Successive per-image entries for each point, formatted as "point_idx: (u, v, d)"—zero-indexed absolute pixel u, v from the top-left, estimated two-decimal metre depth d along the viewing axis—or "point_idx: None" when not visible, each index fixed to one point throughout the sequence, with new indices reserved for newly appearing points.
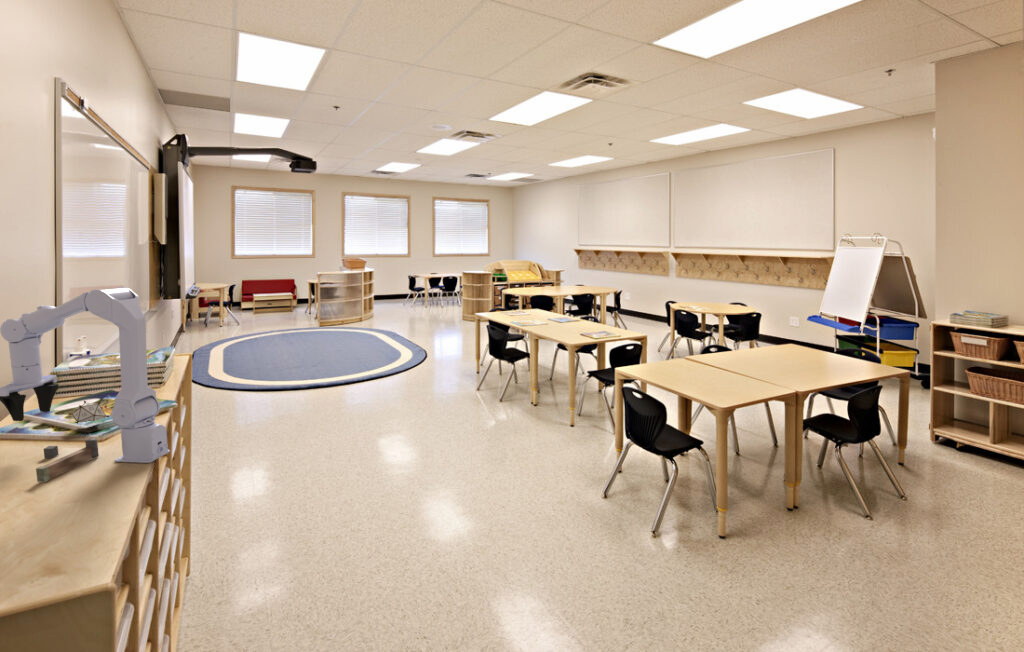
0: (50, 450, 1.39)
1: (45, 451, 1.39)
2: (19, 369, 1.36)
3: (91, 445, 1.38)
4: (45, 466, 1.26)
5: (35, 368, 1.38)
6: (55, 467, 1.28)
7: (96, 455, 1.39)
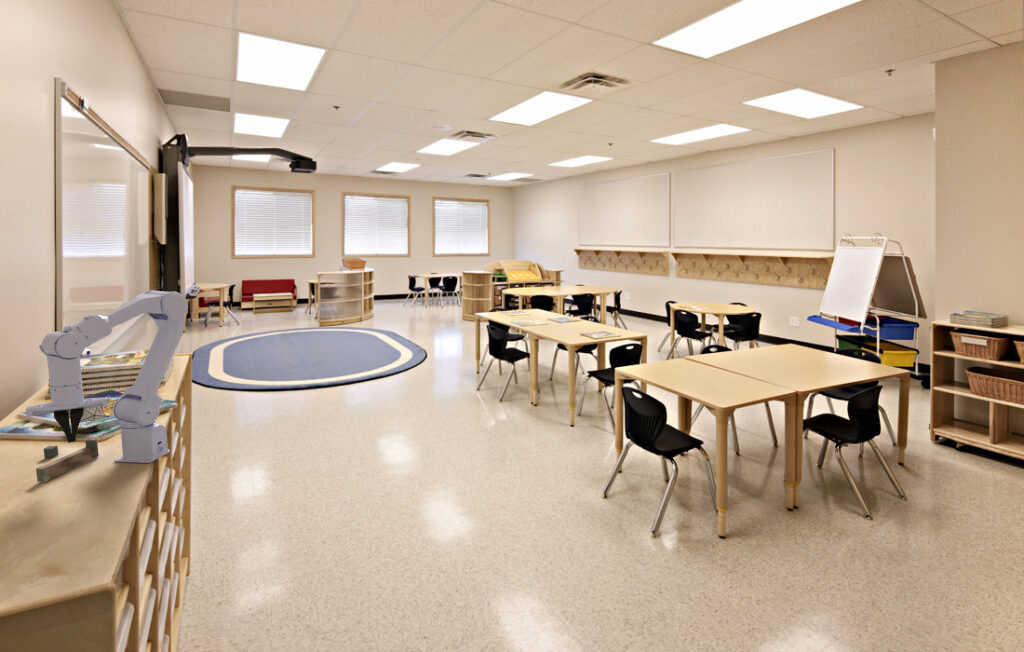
0: (50, 450, 1.39)
1: (45, 451, 1.39)
2: (50, 388, 1.22)
3: (91, 445, 1.38)
4: (45, 466, 1.26)
5: (63, 390, 1.22)
6: (55, 467, 1.28)
7: (96, 455, 1.39)
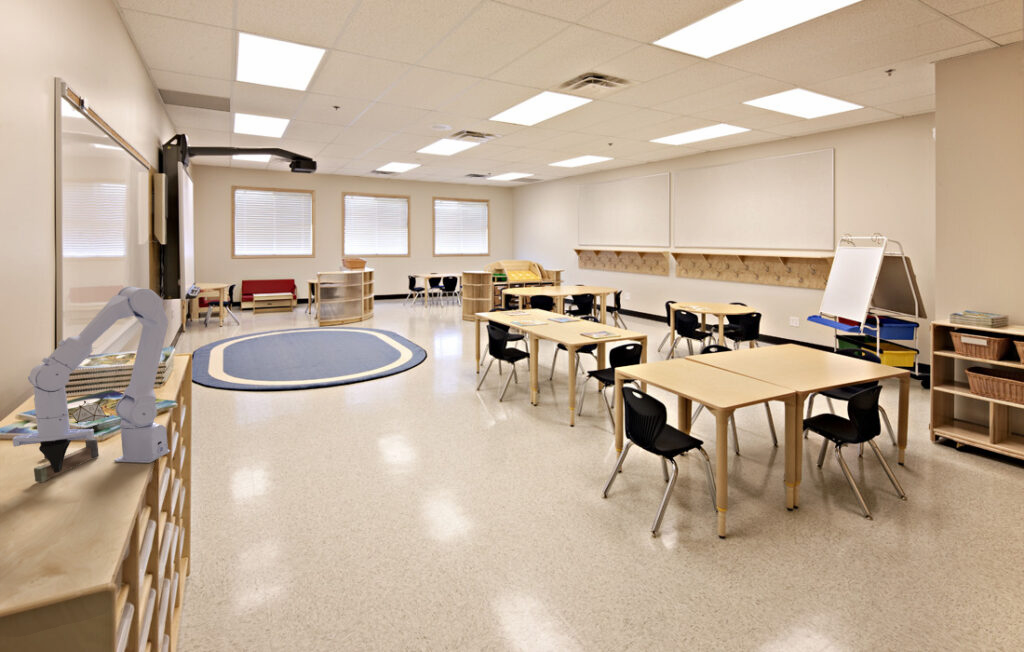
0: None
1: None
2: (36, 419, 1.24)
3: (91, 445, 1.38)
4: (43, 466, 1.26)
5: (45, 422, 1.23)
6: None
7: (96, 455, 1.39)
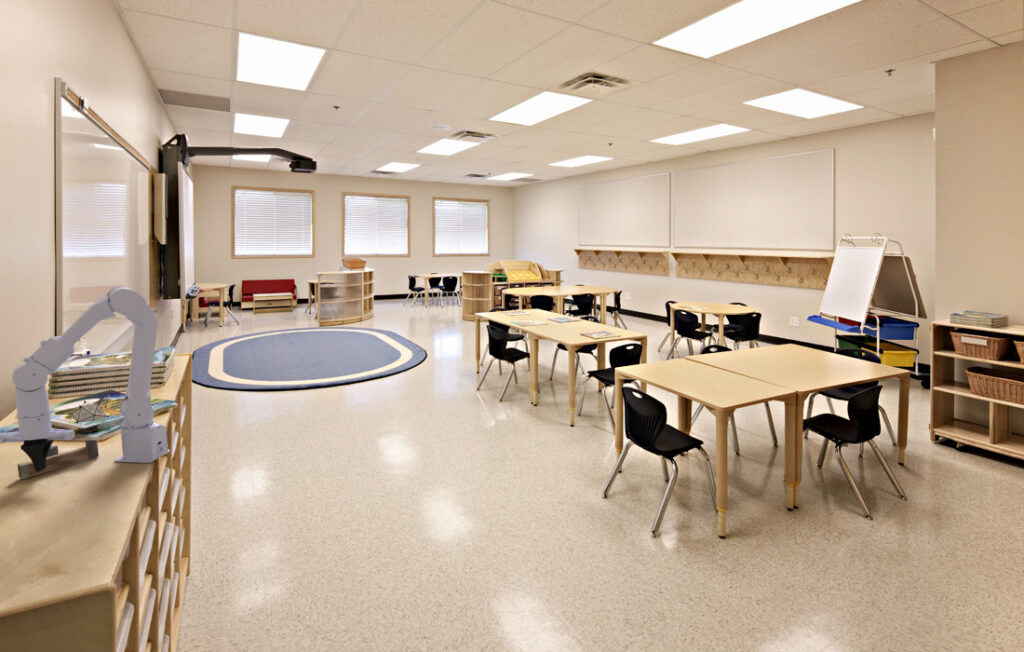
0: (50, 450, 1.39)
1: None
2: None
3: (88, 445, 1.38)
4: (27, 463, 1.27)
5: (24, 421, 1.23)
6: None
7: (94, 456, 1.39)
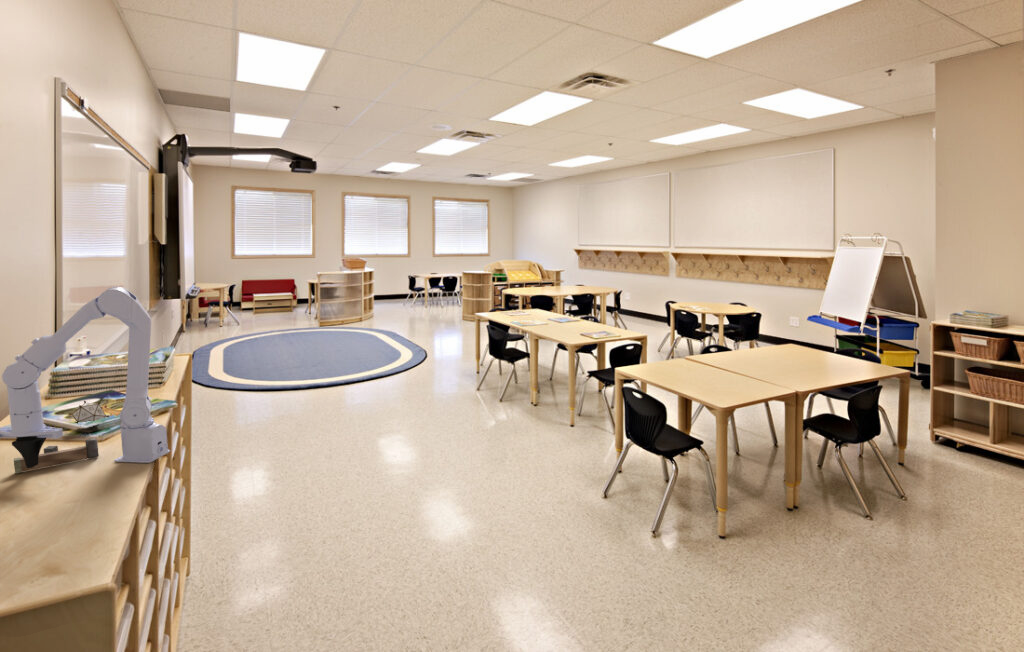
0: (50, 450, 1.39)
1: (45, 451, 1.39)
2: None
3: (87, 445, 1.38)
4: (21, 458, 1.30)
5: (13, 418, 1.25)
6: None
7: (92, 456, 1.38)
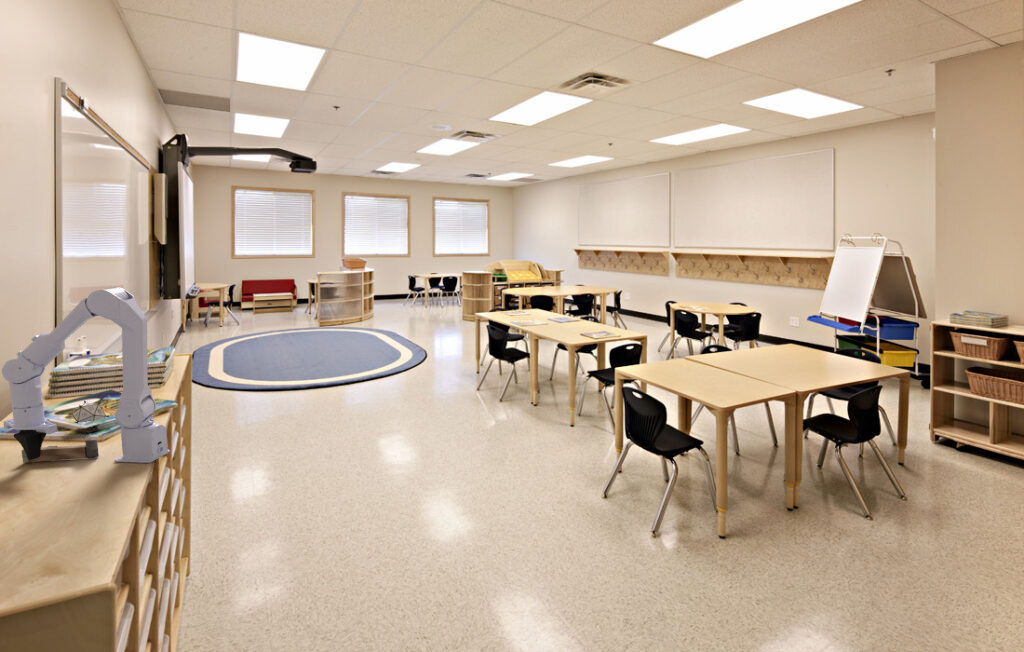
0: None
1: None
2: None
3: (85, 445, 1.38)
4: None
5: (13, 411, 1.30)
6: None
7: (89, 456, 1.38)
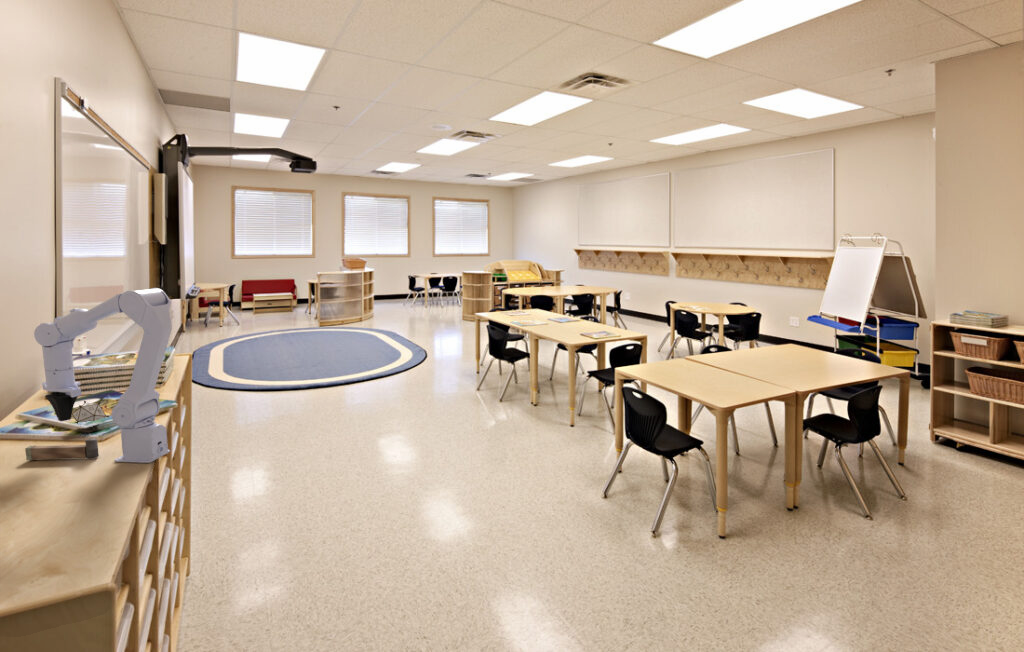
0: None
1: None
2: None
3: None
4: (34, 447, 1.37)
5: (45, 373, 1.36)
6: (39, 451, 1.37)
7: (88, 456, 1.38)
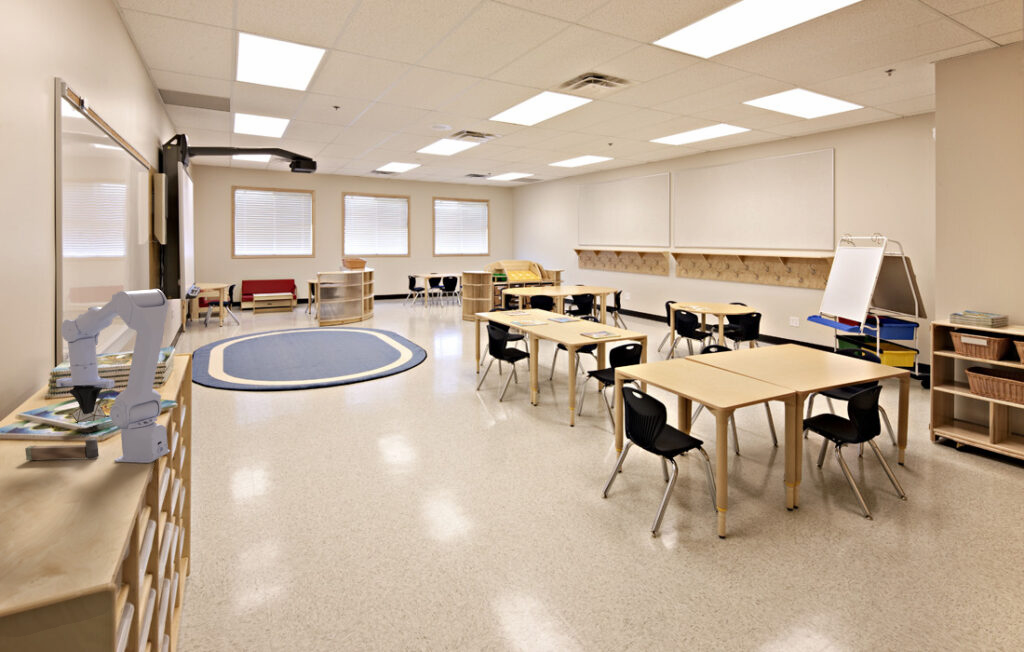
0: None
1: None
2: None
3: None
4: (34, 447, 1.37)
5: (73, 368, 1.42)
6: (39, 451, 1.37)
7: (88, 456, 1.38)
